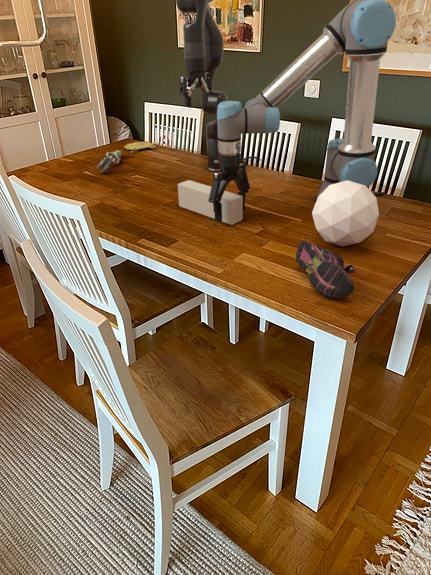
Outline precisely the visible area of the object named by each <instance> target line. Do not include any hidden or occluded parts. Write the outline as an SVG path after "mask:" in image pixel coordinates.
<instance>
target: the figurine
mask: <svg viewBox="0 0 431 575" xmlns="http://www.w3.org/2000/svg"><path fill="white" fill-rule="evenodd" d="M122 153H123V152H122V150H115V151H111V152H110V151H107V152H106V153H105V155H106V156H104V157H103V158H102V159H101V161H100V162H99V163H98V165H97V167H96V169H97V170H100V173H101V174H104V173H105V172H106V171H107V170H108V169H109V168H110V167H111V166H112V165H119V164H120V160H121V158H122V157H123V154H122Z"/></svg>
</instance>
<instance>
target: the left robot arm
mask: <svg viewBox="0 0 431 575" xmlns="http://www.w3.org/2000/svg"><path fill="white" fill-rule="evenodd" d="M213 1H214V0H175V5H176V8H177V10H178V11H179V12H181V14H196V16H195V18H194V19H193V20H190V21H186V22H184V23H183V25H182V26H183V27H182V29H183V30H182V32H183V59H184V60H183V61H184V71H185V72H186V75H185V76H181V75H180V76H179V95H181V96H183V97H184V105H185V107H186V108H189V109H190V108H192V93H193V92H194V91H195V89H198V88H199V89H200V90H201V91H200V92H201V94H200V95H201V96H200V104H201V110H202V112H203V113H204V114H207V115H216V116H215V119H214V120H212V121H210V122H207V123H206V125H205V128H206V129H205V134H206V158H207V159H206V160H207V163H206V165H207V166H206V167H207V170H208V171H212V172H220V166H219V164H218V154H219V152H218V128H217V108H218V105H219V103H221V102H224V101H229V97H228V94H227V93H226V92H224V91H218V90H217V91H216V90H213V88H214V86H213V85H214V79H215V76H216V74H217V71H218V70H219V68H220V66H221V64H222V62H223V60H224V55H225V54H224V53H225V51H224V49H225V46H224V44H225V43H224V41H225V40H224V36H223V33H222V31H221V30H220V28H219V26H218V24H217V22H216V21H215V19H214V17H213V14H212V12H211V7H210V3H211V2H213ZM251 159H255V160H257V161H261V158H259V157H258V156H255V155H254V156H253V155H251V156H247V157H242V158H241V164H245V165H247V163H248V162H247V160H251Z"/></svg>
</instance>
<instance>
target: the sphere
mask: <svg viewBox="0 0 431 575" xmlns="http://www.w3.org/2000/svg"><path fill="white" fill-rule="evenodd" d="M373 193H374V192H372V191H371V190H370V189H369V187H368V188H367V187H366V186H365V185H362V184H358V183H355V182H352V181H349V180H347V181H343V182H339V183H335V184H332V185H329V186H328V187H327V188H326V189H325V190H324V191H323V192H322V193H321V194H320V195H319V196H318V195H317V196H318V198H316V202H315V203H314V205H313V206H314V207H313V209H312V211H311V216H312V219H313V223H314V227H315V229H316V231H317V232H318V234H319V235H320V236H321V237H322V238H323V240H324V242H326V243H330V244H334V245H336V246H340V247H342V248H343V247H347V246H351V245H355V244H360V243H362V242H363V241H364V240H365V239H367V238H368V237H369V236H370V235H372V234H373V233H374V232H375V228H376V225H377V222H378V219H379V216H380V213H379V212H380V211H379V206H378V199H377V196H376V195H373Z"/></svg>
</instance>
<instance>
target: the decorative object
mask: <svg viewBox="0 0 431 575" xmlns="http://www.w3.org/2000/svg"><path fill="white" fill-rule="evenodd" d="M148 148H151V149H153V148H157V142H155V141H153V142H147V141H136V142H130V143H126V144H125V145H124V149H126V150H130V154H132V153H134V152H137V151H139V150H143V149H148Z"/></svg>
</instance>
